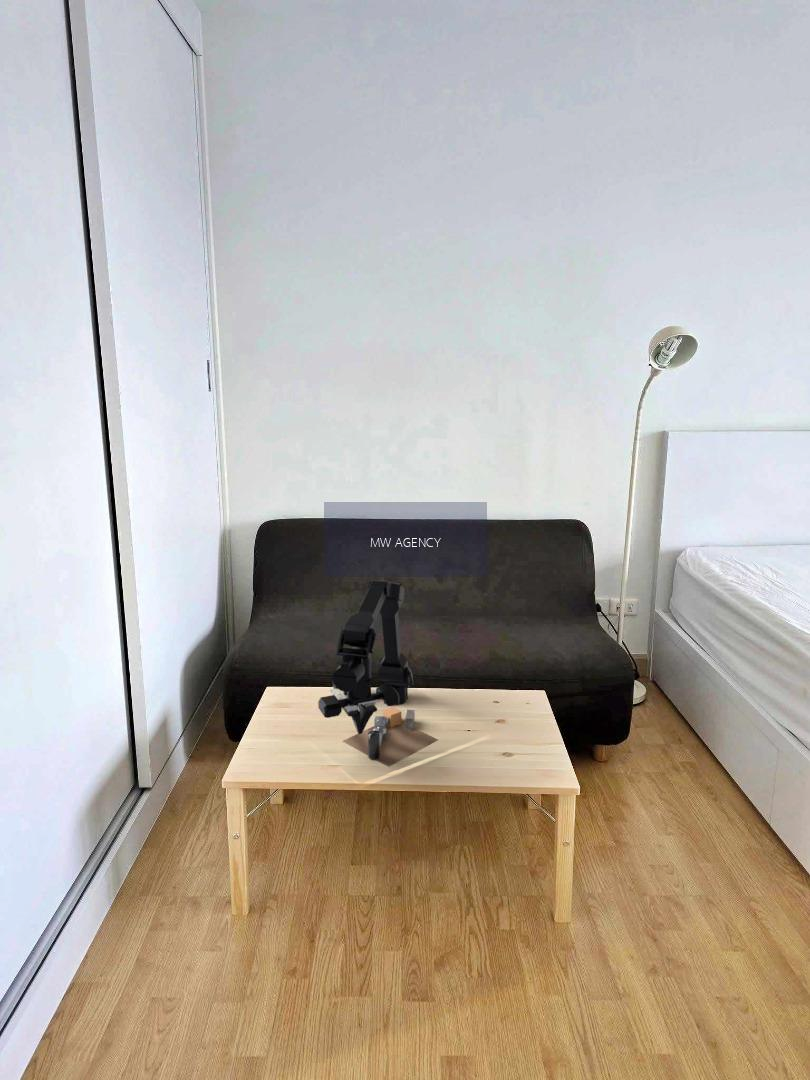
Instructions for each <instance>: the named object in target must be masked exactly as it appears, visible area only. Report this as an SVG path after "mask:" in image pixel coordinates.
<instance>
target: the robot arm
mask: <svg viewBox="0 0 810 1080" xmlns="http://www.w3.org/2000/svg"><path fill="white" fill-rule="evenodd" d="M404 600H405V587H404V586H403V584H401V583H400V582H390V581H388V580H382V579H372V580H370V581H369V582H368V589H367V591H366V594H365V596H364V597H363V600H362V602H361V605H360V606H359V608H358V611H357V612H356V613H355V614H353V615H351V616H349V617H348V618H347V620H346V621H345V623H344V625H343V626H342V627H341V628H340V629H341V630H340V633H339V640H338V644H337V650H336V656H337V657H339V656H340V657H342V661H341V662H340V665H339V666H337V668H336V669H335V670H334V672H333V674H332V678H331V679H332V687H333V688H334V689H339V690H341V691H343V694H344V695H345V696H346V695H347V698H346V699H340V700H338V699H337V698H336V697H335V695H331V694H330V695H331V696H330V695H327V696H321V697H320V698H319V699H318V701H317V704H318V706H317V707H318V709H319V711H320V713H322V715H323V717H324V718H325V719H326V718H327V719H328V718H329V719H330V718H334V717H335V718H336V717H339V715H341V713H342V711H343V712H345V714H346V715H347V716H348V717H351V720H352V722H353V725H354V727H355V730H356V732H357V734H362V732H363V731H365V728H366V726H367V724H368V722H369V720H370V719H371V717H372V716H373V714H374V713H377V711H378V708H377V707H376V702H380V701H383V704H384V705H387V707H395V706H399V705H404V704H405V703H406V702H407V700H408V699H409V698H408V695H409V694H408V693H409V692H408V690H409V688H410V687H413V685H414V678H413V677H414V674H413V672H412V670H411V668H410V667H409V663H408V662H409V661H408V658H407V657H406V656H405V655H404V654H403V653H402V647H401V635H400V622H399V610H400V608H401V605H403V604H402V603H403V602H404ZM379 615H380V618H381V619H380V620H381V630H382V631H381V632H382V643H383V653H384V654H383V655H384V656H383V657H382V661H381V663H380V665H379V668H378V680H379V685H380V686H377V687H376V689H375V692H373V693H372V685H373V684H374V683H373V681H374V680H373V679H372V662H371V660H372V654H374V653H375V652H374V651H375V647H376V644H377V639H378V633H377V630H376V628H375V627H376V625H375V623H376V621H377V619H378V617H379ZM344 646H346V647H344ZM348 647H350V648H348ZM342 709H343V710H342Z"/></svg>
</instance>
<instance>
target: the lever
mask: <svg viewBox="0 0 810 1080" xmlns="http://www.w3.org/2000/svg"><path fill="white" fill-rule="evenodd" d="M373 721H374V725H373V726H374V728H373V730H372V731H369V732H368V755H367V756H368V758H369V759H371V760H375V759H377V758H379V757H380V748H381V744H382V740H383V737H384V736H386V735H387V729H388V727H389V717H385V716H383V715H375V716H374V720H373Z"/></svg>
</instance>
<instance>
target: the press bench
mask: <svg viewBox="0 0 810 1080" xmlns="http://www.w3.org/2000/svg"><path fill="white" fill-rule="evenodd" d="M415 715H416V714H415V709H407V710H406V713H405V718H404V720H405V721H404V722H403V721H401V724H398V725H396V726H393V727H390V726H389V727H388V729H387V735H386V736H384V737H383V740H382V744H381V748H380V757H379V758H377V759H374V760H376V761H378V762H379V763H381V764H383V765H385V766H387V768H388V767H390V766H392V765H395V764H396V763H399V762H400V761H402V760H403V759H407V757H409V756H412V755H413V754H415V753H416V752H418V751H420V750H422V749H425V748H426V747H429V746H431V745H432V744H434V743H436V742H437V741H439V739H438V738H436V737H434V736H433V735H430V734H428V733H426V732H424V731H422V730H419V729H418V728H415V727H414V726H415ZM373 728H374V725H373V726H371V727H369V728H367V729H364V730H363V732H362V734H358V733H357V734H354V735H351V736H350V737H348V738H345V739H344V740H342V743H345V744H346V745H348V746H350V747H352V748H353V749H355V750H357V751H359V752H361V753H363V754H365V755H367V756H368V732H369V731H372V730H373Z"/></svg>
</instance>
